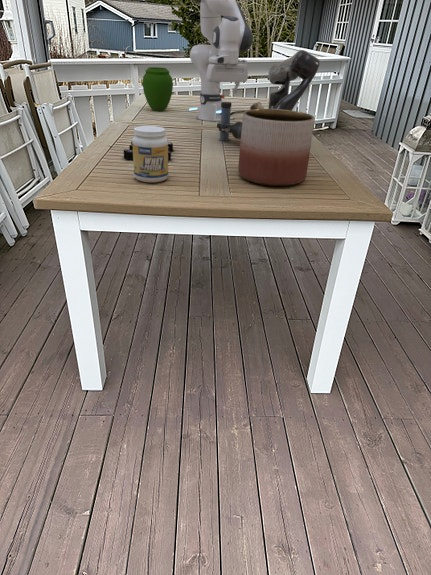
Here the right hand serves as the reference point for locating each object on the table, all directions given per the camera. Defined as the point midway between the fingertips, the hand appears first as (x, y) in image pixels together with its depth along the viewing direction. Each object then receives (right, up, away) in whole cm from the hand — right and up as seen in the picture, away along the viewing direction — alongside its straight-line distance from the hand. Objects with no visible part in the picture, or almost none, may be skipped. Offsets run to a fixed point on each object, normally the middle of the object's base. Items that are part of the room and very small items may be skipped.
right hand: (221, 124), depth 202 cm
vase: (-40, +36, +66) cm, 86 cm away
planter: (+18, -39, -48) cm, 64 cm away
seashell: (+24, +33, +67) cm, 78 cm away
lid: (+2, +7, -7) cm, 11 cm away
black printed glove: (-31, -21, -24) cm, 45 cm away
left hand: (+2, +11, -10) cm, 15 cm away
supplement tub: (-26, -41, -55) cm, 74 cm away
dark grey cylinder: (+1, -7, +2) cm, 7 cm away
